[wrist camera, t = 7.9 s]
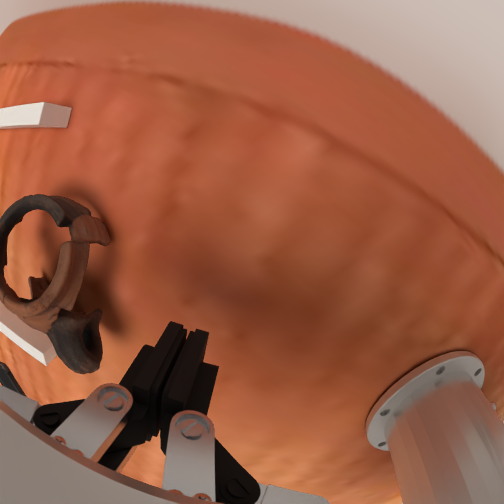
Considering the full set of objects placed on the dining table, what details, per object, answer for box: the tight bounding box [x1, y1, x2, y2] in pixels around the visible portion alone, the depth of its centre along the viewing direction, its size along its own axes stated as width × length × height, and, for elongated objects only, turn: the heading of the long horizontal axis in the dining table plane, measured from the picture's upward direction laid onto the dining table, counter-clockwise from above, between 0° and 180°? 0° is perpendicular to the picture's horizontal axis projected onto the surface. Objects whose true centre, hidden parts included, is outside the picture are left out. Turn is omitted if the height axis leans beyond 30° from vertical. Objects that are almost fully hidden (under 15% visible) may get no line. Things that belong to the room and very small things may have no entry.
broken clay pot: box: [0, 194, 110, 374], centre depth 15 cm, size 12×10×8 cm
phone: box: [0, 362, 26, 397], centre depth 26 cm, size 8×1×15 cm
